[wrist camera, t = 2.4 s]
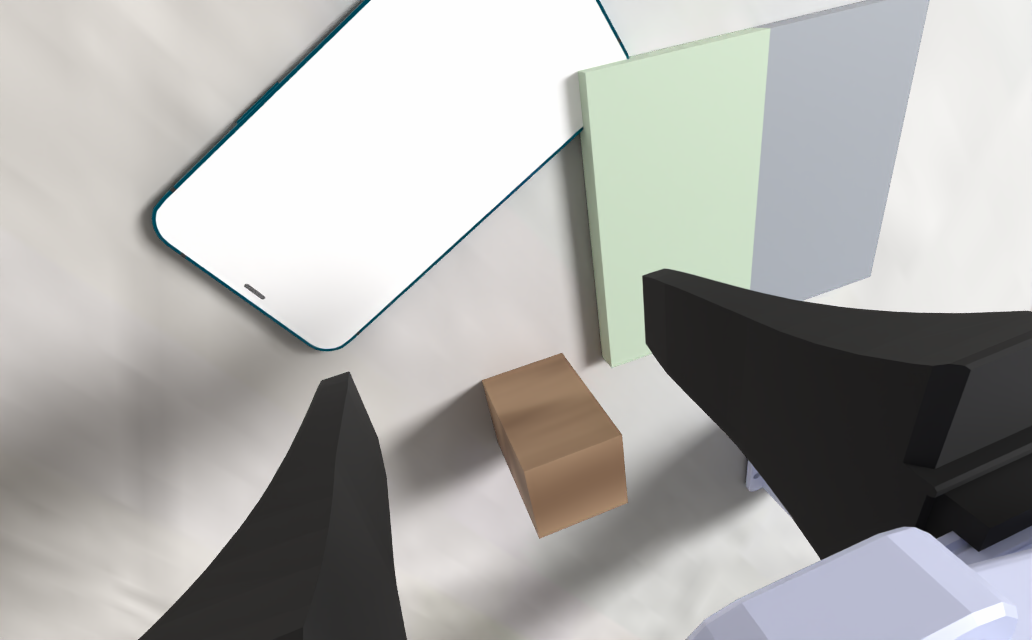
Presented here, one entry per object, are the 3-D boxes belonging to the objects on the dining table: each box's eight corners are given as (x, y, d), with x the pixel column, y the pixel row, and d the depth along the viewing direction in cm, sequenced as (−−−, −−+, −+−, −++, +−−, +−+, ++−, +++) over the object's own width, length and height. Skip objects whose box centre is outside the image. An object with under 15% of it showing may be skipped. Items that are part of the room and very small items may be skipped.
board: (854, 269, 29) (870, 276, 28) (602, 357, 26) (611, 368, 25) (908, -10, 22) (931, -11, 21) (573, 70, 19) (585, 72, 18)
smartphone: (508, -145, 16) (141, 213, 17) (517, -153, 15) (134, 222, 17) (629, 77, 21) (330, 350, 22) (641, 79, 20) (331, 362, 21)
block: (571, 414, 28) (627, 502, 23) (497, 441, 27) (539, 538, 22) (561, 352, 25) (622, 434, 20) (481, 380, 25) (524, 471, 20)
